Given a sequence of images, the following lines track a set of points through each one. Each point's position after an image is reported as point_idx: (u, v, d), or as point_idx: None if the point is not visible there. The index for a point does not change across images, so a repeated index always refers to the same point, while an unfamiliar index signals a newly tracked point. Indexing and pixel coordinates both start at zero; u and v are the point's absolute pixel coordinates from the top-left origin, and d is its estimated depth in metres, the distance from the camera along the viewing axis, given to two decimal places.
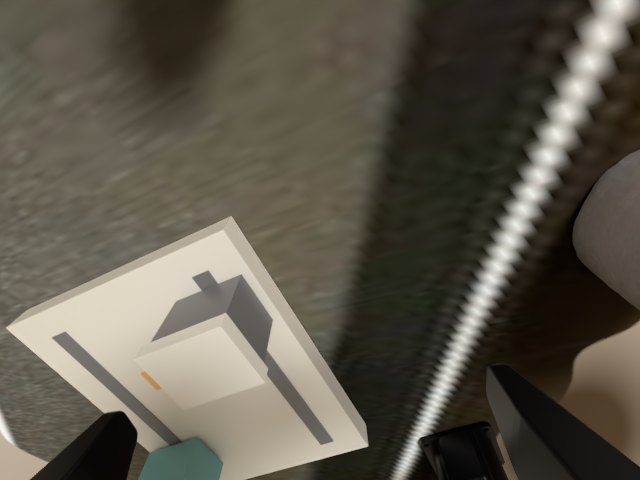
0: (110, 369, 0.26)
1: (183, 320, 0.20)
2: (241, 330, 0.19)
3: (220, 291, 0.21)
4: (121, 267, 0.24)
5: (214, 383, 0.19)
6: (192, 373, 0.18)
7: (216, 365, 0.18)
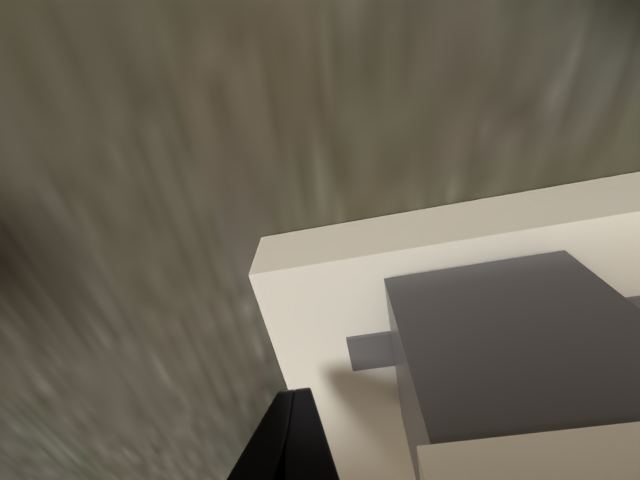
0: None
1: None
2: (533, 409, 0.05)
3: (397, 351, 0.07)
4: None
5: None
6: None
7: None
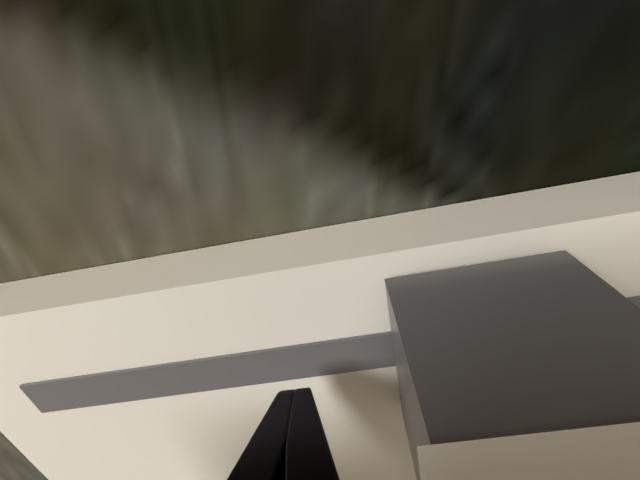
0: None
1: None
2: (533, 409, 0.05)
3: (398, 352, 0.08)
4: None
5: None
6: None
7: None
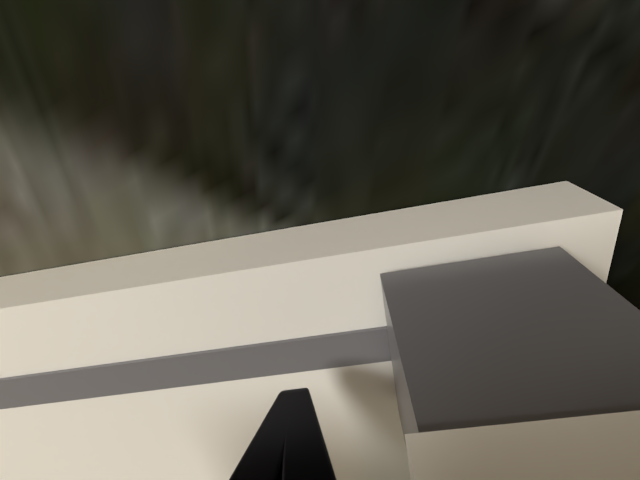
0: None
1: None
2: (520, 400, 0.05)
3: (392, 345, 0.08)
4: None
5: None
6: None
7: None
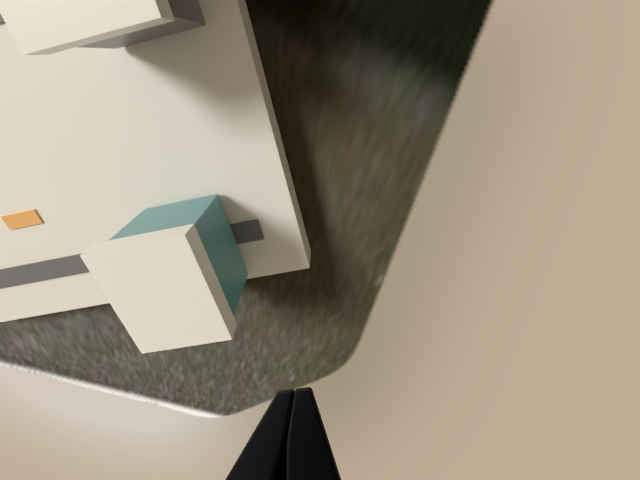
0: (13, 261, 0.20)
1: None
2: None
3: None
4: None
5: None
6: None
7: None
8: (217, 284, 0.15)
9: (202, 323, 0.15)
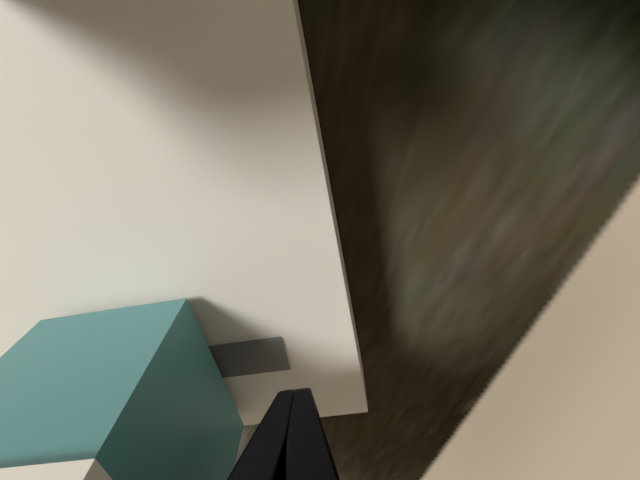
0: None
1: None
2: None
3: None
4: None
5: None
6: None
7: None
8: None
9: None
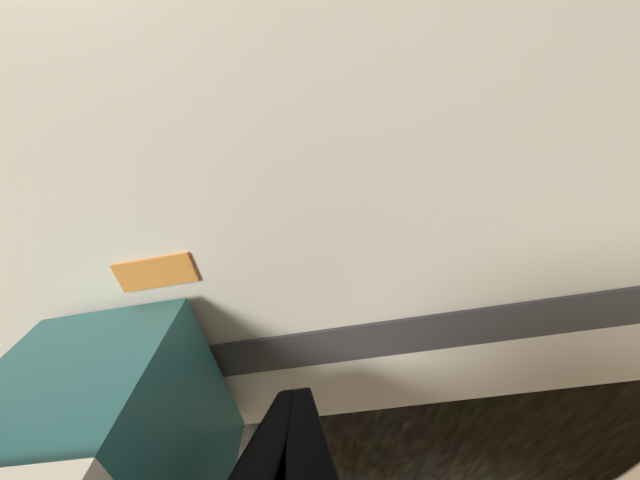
0: None
1: None
2: None
3: None
4: None
5: None
6: None
7: None
8: None
9: None
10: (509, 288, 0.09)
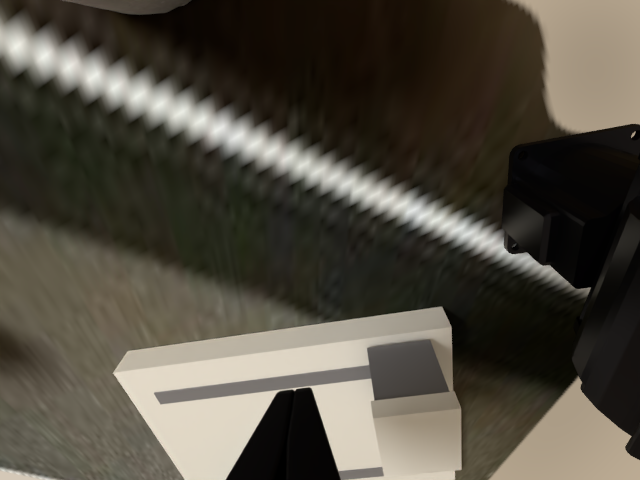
0: None
1: None
2: (400, 392, 0.19)
3: None
4: None
5: (439, 441, 0.18)
6: (419, 450, 0.19)
7: (418, 433, 0.18)
8: None
9: None
10: (381, 463, 0.28)
